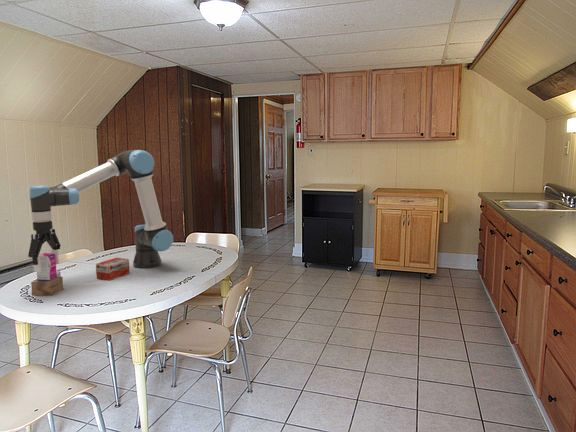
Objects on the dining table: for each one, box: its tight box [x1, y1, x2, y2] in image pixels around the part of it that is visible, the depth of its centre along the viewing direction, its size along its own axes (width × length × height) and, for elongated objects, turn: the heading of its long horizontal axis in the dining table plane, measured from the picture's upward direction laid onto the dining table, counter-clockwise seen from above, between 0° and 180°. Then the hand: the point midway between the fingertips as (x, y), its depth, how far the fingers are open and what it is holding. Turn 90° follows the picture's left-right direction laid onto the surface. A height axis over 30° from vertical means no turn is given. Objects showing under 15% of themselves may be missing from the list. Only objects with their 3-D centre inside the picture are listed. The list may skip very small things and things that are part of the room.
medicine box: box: [95, 257, 130, 281], centre depth 222 cm, size 15×8×8 cm, turn 159°
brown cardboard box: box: [30, 276, 64, 296], centre depth 196 cm, size 9×9×6 cm
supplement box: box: [36, 252, 57, 281], centre depth 194 cm, size 6×6×12 cm
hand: (46, 267), depth 195 cm, fingers open, 13 cm apart
